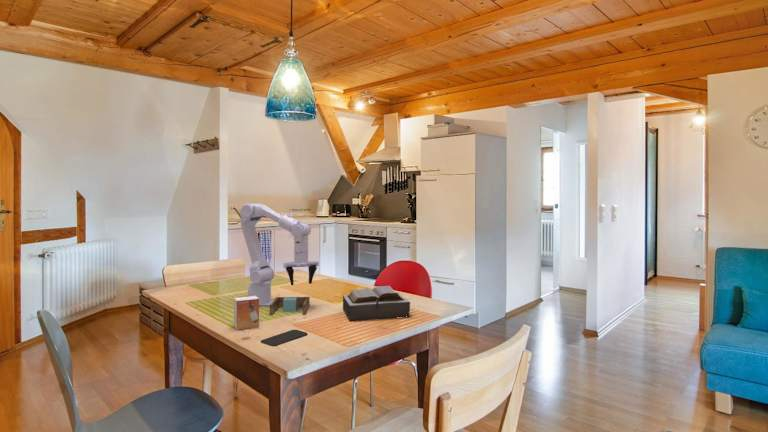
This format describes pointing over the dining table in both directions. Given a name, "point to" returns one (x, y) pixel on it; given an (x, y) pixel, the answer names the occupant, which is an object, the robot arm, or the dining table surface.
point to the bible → (375, 304)
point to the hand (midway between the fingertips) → (301, 284)
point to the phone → (284, 337)
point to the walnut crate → (278, 302)
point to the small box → (246, 312)
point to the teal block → (290, 304)
